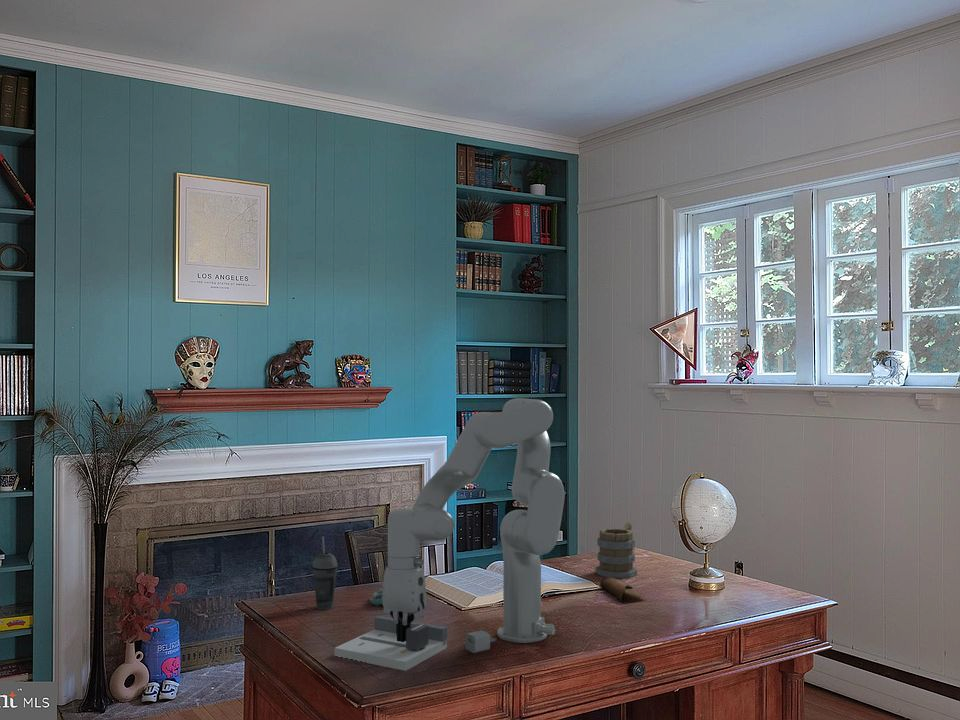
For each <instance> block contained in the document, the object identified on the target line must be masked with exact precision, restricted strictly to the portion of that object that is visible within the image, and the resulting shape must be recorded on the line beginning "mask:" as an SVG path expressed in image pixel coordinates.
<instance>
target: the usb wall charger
mask: <svg viewBox="0 0 960 720" xmlns="http://www.w3.org/2000/svg"><path fill="white" fill-rule="evenodd" d="M496 641H497V637H493V635H490V633H489V632H487V631H485V630H477V631H473V632H468V633H466V634H465V649H466V650H467V651H469V652H471V653H473V654H477V653H481V652H485V651H489V650H490V649H491V643H493V642H496Z"/></svg>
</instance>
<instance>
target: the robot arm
mask: <svg viewBox="0 0 960 720" xmlns="http://www.w3.org/2000/svg"><path fill="white" fill-rule="evenodd" d="M553 420H554V413H553V409H552V407H551V406H550V405H549V404H548V403H547V402H546V401H544V400H542V399H535V398H523V397H522V398H520V397H518V398H517V397H516V398H512V399H511V398H510V400H508V401H506V402H505V404H503V407H502V411H501V412H491V411H490V412H489V411H488V412H486V411H481V412H476V413H474V414H473V415H471V416H470V417H469V419H467V422H466V424H465V425H464V428H463V429H462V431H461V434H460V435H459V437H458V438H457V441H456V443H455V444H454V446H453V448H452V450H451V452H450V454H449V456H448V458H447V459H446V461H445V462H444V463H443V465H442V466H441V467H440V468H438V470H437V471H436V472H435V473H434V474H433V475H432V476H431V477H430V479H429V480H428V481H427V482H426V483H425V485H424V486H423V488H422V489H421V491H420V492H419V494H418V496H417V498H416V500H415V502H414V504H413V506H412V508H410V509H407V508H405V509H404V508H402V509H401V508H400V509H393V510H392V511H390V512H389V514H388V516H387V566H386V567H385V571H384V574H383V581H382V587H383V591H382V603H383V604H382V606H383V612H384V613H386V614H387V615H388V616H389V615H390V616H391V618H393V619H394V623H395V624H396V636H397V641H399V642H400V641H401V642H405V641H406V629H408V628H410V623H412V622H413V621H414V620H416V619H421V618H423V617H425V614H424V610H425V609H426V608H427V588H426V577H425V573H424V569H423V565H424V560H423V559H421V556H420V550H421V549H420V547H421V546H420V545H421V544H420V541H434V542H436V541H437V542H439V541H443V540H446V539H447V538H449V537H450V536H452V534H453V532H454V529H455V521H454V518H453V516H452V514H450V513H449V512H448V511H446V510H444V507H445V506H446V503H447V502H448V501H449V500H450V498H451V497H452V496H453V495H454V494H455V493H456V492H457V491H458V490H460V489H462V488H464V487H466V486H468V485H470V484H471V483H472V482H474V481H475V480H476V479H477V478H478V477H479V474H480V472H481V471H482V468H483V467H484V464H485V462H486V460H487V459H488V457H489V455H490V453H491V451H492V449H502V448H507V447H510V446H513V445H515V444H517V445H516V446H517V447H516V448H517V449H516V451H517V452H516V460H515V466H514V473H513V477H512V478H513V479H512V484H511V494H512V496H513V499H514V500H515V501H516V502H518V503H519V504H521V505H525V506H527V510H525V509H514V510H511V511H510V512H507V514H506V515H504V517H503V518H502V520H501V523H500V529H499V530H500V531H499V534H500V542H501V543H500V544H501V550H502V558H503V561H502V562H503V573H502V575H503V578H502V579H503V582H502V583H503V587H502V588H503V589H502V590H503V592H502V593H503V594H502V596H503V599H502V600H503V601H502V604H503V608H502V609H503V611H502V612H503V616H502V617H503V620H502V621H503V623H502V625H503V626H500V627H499V628H498V629H497V633H496V634H497V637H498V638H499V639H500V640H503V641H506V642H510V643H516V644H517V643H518V644H528V643H537V642H541V641H543V640H545V639H547V636H548V635H549V636H550V635H551V636H555V633H556V627H555V624H551V623H546V622H545V619H546V617H544V616H542V564H541V556H543V555H546V554H549V553H550V552H551V551H552V550H553V549H554V548H555V546H556V544H557V542H558V539H559V535H560V530H561V529H560V528H561V525H562V524H561V523H562V517H563V511H564V505H565V486H564V484H563V482H562V480H561V479H560V477H559V476H558V475H556V474H555V473H553V472H550V471H549V469H550V459H551V440H550V437H549V434H548V432H547V431H548V429H550V427H551V425H552V424H553Z"/></svg>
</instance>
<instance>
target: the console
mask: <svg viewBox="0 0 960 720" xmlns="http://www.w3.org/2000/svg"><path fill="white" fill-rule="evenodd" d="M416 624H422V625H427V626H428V645H426V646H424V647H422V648H421V649H419V650H411V649H406V641H405V642H401V641H400V642H399V641H397V636H396V624H395V623H394V619H393V618H392V616H391V617H390V616H383V615H377V616H375V617H374V629H372V630H370V631H368V632H366V633H364V634H362V635H360V636H358V637H357V636H356V637H355V638H353V639H351V640H349V641H346V642H344V643H342V644H340V645H338V646H336V647H334V657H335V656H338V657H337V658H340V657H343V658H342V659H345V658H348V659H347V660H350V659H353V660H352V661H355V660H357V662H360V661H362V662H361V663H365V662H366V664H370V665H374V666H375V665H376V666H380V667H385V668H389V669H390V668H391V669H396V670H399V671H405V672H407V671H408V670H410V669H412V668H413V667H415V666H418V665H419V664H421V663H422V662H424V661H426V660H427V659H429V658H431V657H433V656H435V655H436V654H438V653H440V652H441V651H443V650H445V649H447V648H448V626H445V625H444V626H443V625H437V624H432V623H425V622H419V621H414V620H413V622H412V623H410V627H412V626H414V625H416Z"/></svg>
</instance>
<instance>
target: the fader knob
mask: <svg viewBox="0 0 960 720" xmlns="http://www.w3.org/2000/svg"><path fill="white" fill-rule="evenodd" d="M426 645H428V626H427V625H422V624H416V625H414V626H412V627H410V628H408V629H406V649H411V650H419V649H421V648H422V647H424V646H426Z"/></svg>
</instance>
